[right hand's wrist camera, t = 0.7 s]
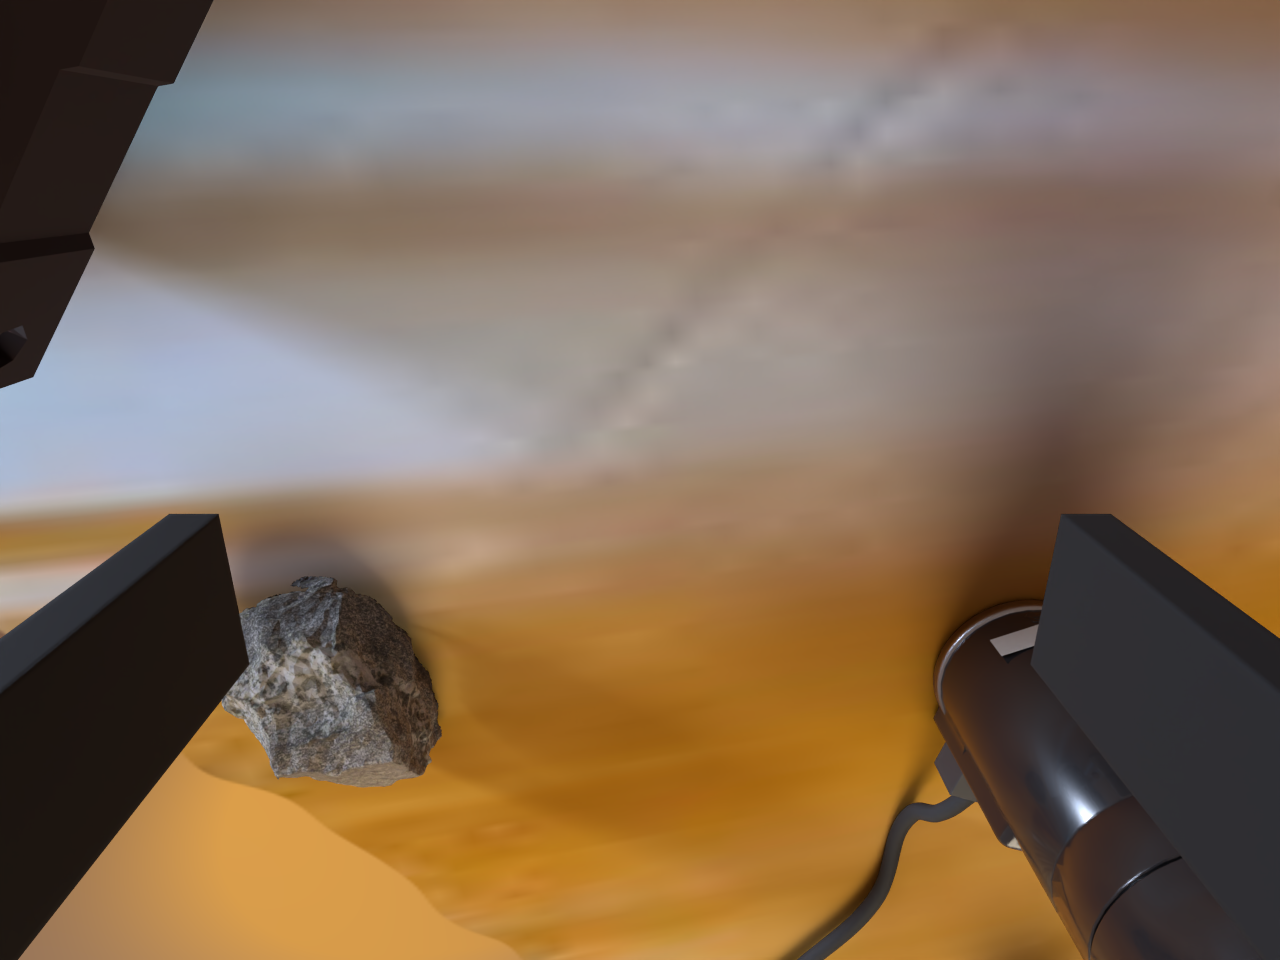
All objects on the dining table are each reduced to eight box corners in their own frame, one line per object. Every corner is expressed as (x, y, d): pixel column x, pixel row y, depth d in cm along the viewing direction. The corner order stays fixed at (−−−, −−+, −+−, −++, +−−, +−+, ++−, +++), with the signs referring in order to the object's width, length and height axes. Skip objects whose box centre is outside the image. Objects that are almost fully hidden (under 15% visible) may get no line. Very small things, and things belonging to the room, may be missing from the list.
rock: (213, 634, 45) (149, 706, 39) (307, 533, 43) (255, 593, 37) (401, 768, 49) (369, 853, 43) (496, 682, 47) (477, 758, 40)
